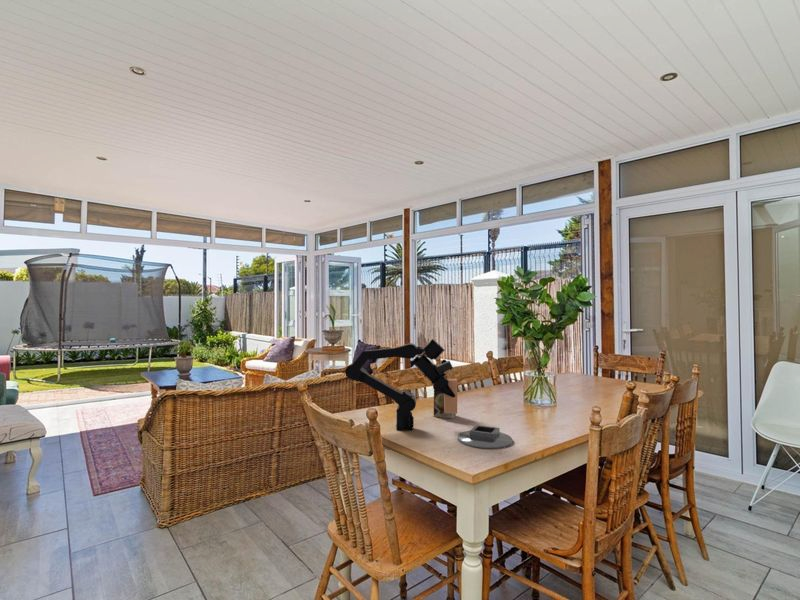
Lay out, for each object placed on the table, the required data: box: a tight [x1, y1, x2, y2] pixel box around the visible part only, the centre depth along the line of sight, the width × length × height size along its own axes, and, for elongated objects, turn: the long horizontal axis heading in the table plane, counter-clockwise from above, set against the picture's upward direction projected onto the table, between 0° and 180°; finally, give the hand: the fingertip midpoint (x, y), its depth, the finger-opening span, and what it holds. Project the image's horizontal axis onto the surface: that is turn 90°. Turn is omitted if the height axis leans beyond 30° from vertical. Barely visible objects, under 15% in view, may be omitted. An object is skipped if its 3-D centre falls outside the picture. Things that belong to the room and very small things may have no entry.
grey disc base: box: [457, 424, 513, 450], centre depth 162 cm, size 20×20×4 cm
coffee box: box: [433, 389, 457, 419], centre depth 197 cm, size 9×6×16 cm
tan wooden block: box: [444, 378, 458, 415], centre depth 176 cm, size 5×5×13 cm
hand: (454, 395), depth 175 cm, fingers closed on tan wooden block, 5 cm apart
